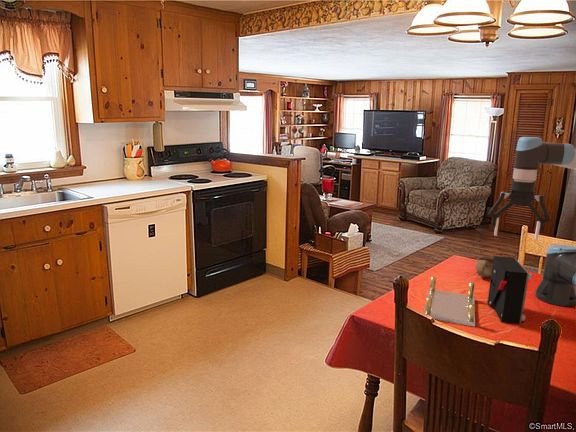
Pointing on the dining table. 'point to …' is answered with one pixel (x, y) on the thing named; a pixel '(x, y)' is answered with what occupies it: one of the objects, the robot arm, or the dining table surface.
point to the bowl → (484, 266)
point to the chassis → (451, 305)
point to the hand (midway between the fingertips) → (515, 237)
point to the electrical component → (508, 289)
